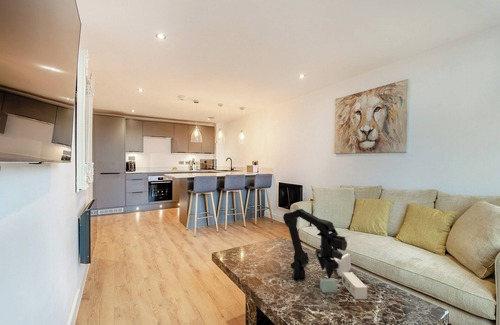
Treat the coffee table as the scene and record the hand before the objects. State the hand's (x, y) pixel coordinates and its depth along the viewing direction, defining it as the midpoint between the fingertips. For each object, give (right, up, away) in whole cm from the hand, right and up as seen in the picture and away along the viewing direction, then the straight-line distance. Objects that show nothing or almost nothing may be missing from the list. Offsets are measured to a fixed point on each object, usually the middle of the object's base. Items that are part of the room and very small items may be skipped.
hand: (326, 273), depth 125 cm
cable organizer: (+15, -10, +22) cm, 28 cm away
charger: (+3, -9, 0) cm, 9 cm away
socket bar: (+15, -10, +1) cm, 18 cm away
